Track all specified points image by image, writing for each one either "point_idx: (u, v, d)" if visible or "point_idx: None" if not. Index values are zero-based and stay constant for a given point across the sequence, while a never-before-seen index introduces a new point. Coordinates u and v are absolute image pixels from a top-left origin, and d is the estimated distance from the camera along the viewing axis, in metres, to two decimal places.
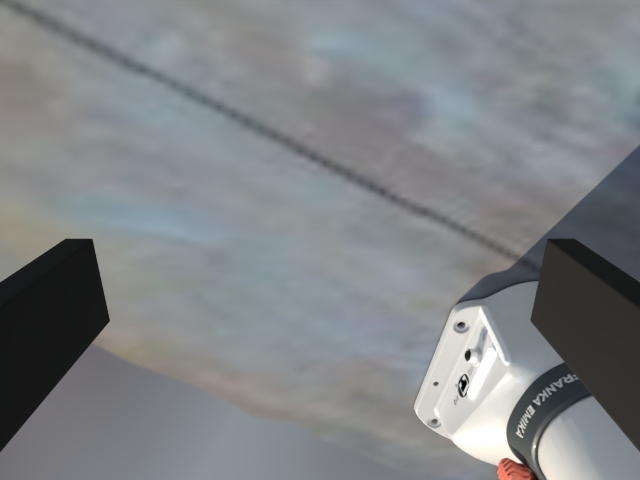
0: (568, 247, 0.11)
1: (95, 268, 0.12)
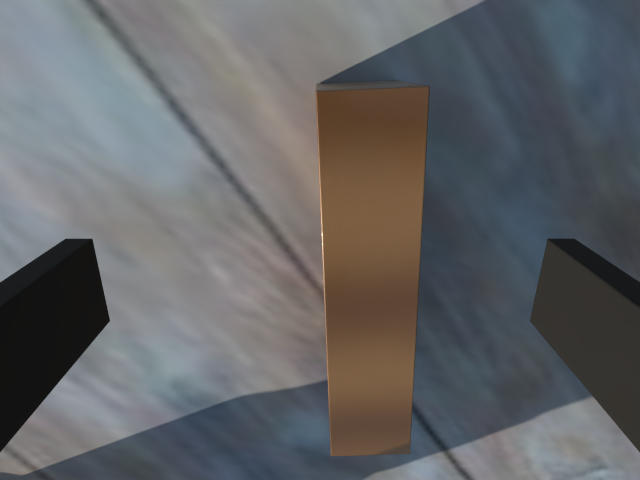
0: (568, 247, 0.11)
1: (95, 268, 0.12)
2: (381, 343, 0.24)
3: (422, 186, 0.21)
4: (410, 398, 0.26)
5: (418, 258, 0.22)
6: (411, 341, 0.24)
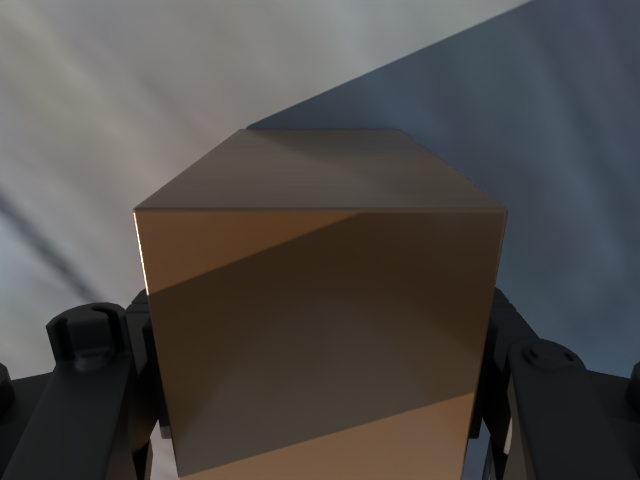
0: None
1: None
2: None
3: (460, 460, 0.07)
4: None
5: None
6: None
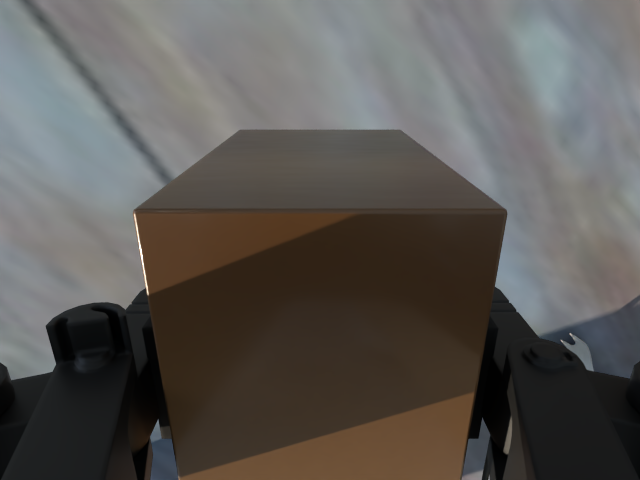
0: None
1: None
2: None
3: (460, 461, 0.07)
4: None
5: None
6: None
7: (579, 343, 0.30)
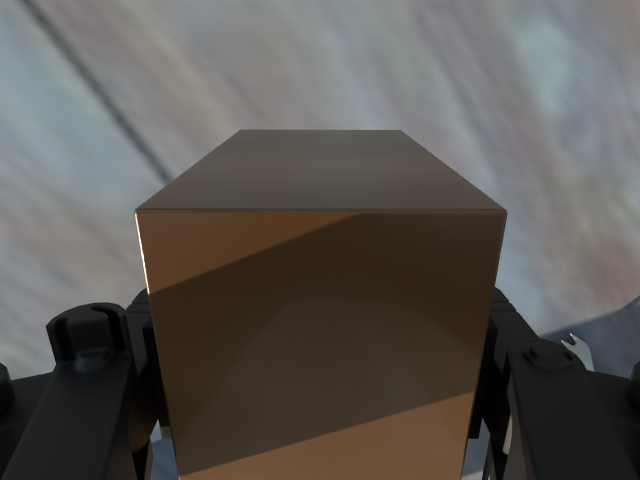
0: None
1: None
2: None
3: (459, 460, 0.07)
4: None
5: None
6: None
7: (579, 343, 0.30)
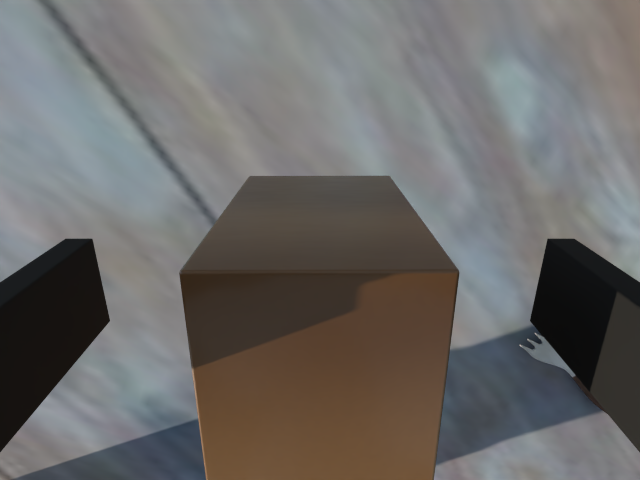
0: (568, 247, 0.11)
1: (95, 268, 0.12)
2: None
3: (432, 462, 0.09)
4: None
5: None
6: None
7: None
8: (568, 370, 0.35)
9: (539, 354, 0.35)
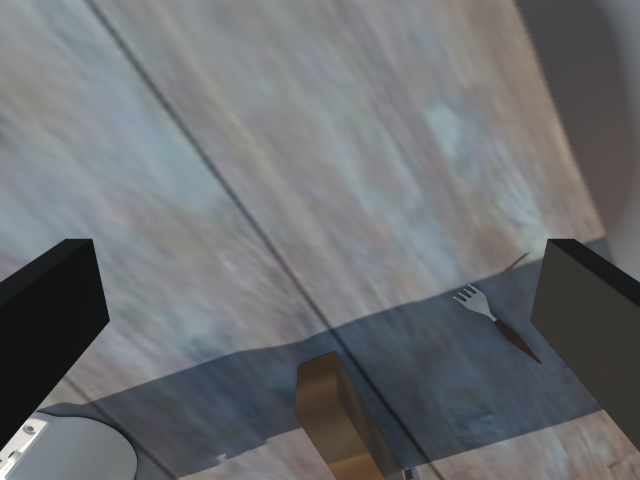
0: (568, 247, 0.11)
1: (95, 268, 0.12)
2: None
3: (354, 429, 0.47)
4: None
5: (368, 452, 0.48)
6: None
7: (478, 292, 0.49)
8: (490, 316, 0.50)
9: (470, 305, 0.50)
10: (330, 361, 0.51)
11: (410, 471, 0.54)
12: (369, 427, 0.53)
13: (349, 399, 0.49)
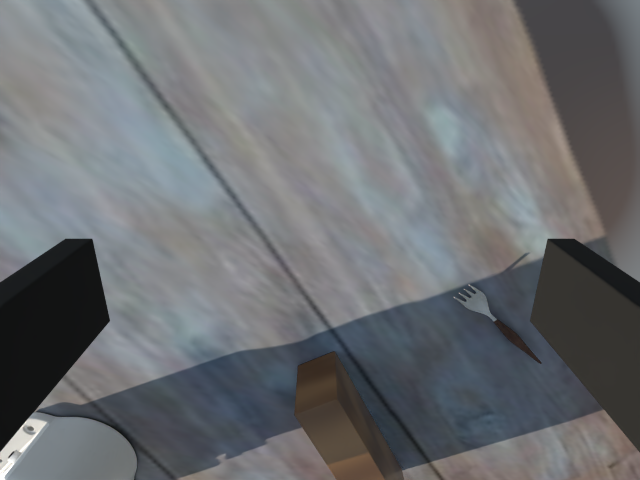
0: (568, 247, 0.11)
1: (95, 268, 0.12)
2: None
3: (354, 429, 0.47)
4: None
5: (368, 452, 0.48)
6: None
7: (478, 292, 0.49)
8: (490, 316, 0.50)
9: (470, 305, 0.50)
10: (330, 361, 0.51)
11: None
12: (369, 427, 0.53)
13: (349, 399, 0.49)
